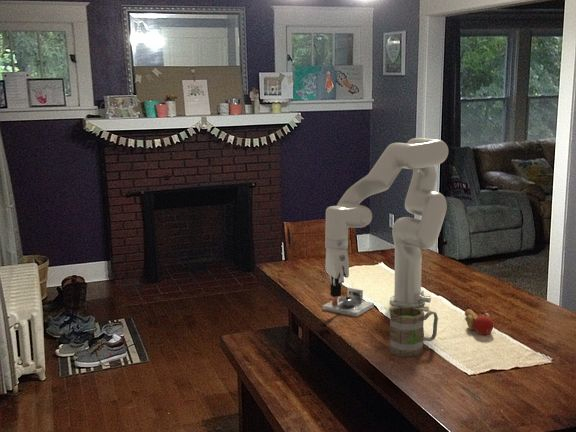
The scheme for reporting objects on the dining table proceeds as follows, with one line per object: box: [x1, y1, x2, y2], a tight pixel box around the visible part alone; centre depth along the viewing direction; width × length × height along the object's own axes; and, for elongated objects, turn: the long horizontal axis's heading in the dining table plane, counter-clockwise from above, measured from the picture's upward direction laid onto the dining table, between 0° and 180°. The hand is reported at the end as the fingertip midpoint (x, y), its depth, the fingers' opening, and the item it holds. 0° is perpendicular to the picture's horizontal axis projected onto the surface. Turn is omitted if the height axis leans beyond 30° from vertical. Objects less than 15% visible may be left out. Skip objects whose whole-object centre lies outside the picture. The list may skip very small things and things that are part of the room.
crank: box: [331, 295, 356, 309], centre depth 231 cm, size 12×6×8 cm, turn 144°
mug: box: [388, 306, 439, 358], centre depth 197 cm, size 16×11×12 cm
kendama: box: [464, 308, 494, 336], centre depth 214 cm, size 8×6×18 cm
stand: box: [322, 287, 375, 318], centre depth 234 cm, size 14×12×6 cm
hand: (335, 295), depth 222 cm, fingers closed
